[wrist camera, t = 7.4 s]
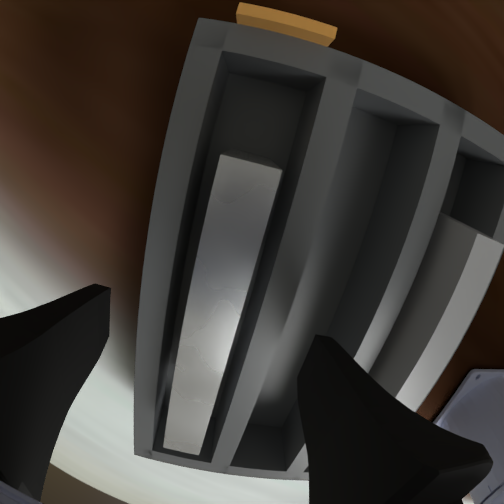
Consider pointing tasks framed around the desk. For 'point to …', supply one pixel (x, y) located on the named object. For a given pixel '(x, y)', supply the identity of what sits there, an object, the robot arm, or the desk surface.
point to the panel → (218, 290)
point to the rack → (315, 232)
